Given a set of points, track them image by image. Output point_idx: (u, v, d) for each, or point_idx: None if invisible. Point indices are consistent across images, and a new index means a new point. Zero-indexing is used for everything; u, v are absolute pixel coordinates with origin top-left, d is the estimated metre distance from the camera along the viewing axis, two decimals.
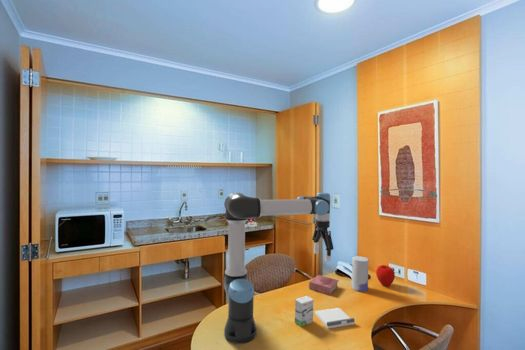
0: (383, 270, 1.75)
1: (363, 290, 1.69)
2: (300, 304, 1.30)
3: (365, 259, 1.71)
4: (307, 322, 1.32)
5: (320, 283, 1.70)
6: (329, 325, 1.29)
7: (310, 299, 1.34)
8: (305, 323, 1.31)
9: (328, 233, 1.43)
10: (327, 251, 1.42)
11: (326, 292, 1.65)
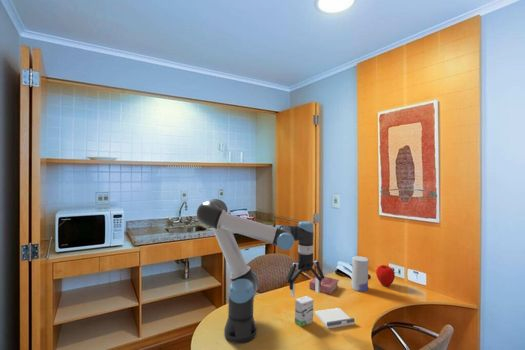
0: (383, 270, 1.75)
1: (363, 290, 1.69)
2: (300, 304, 1.30)
3: (365, 259, 1.71)
4: (307, 322, 1.32)
5: None
6: (329, 325, 1.29)
7: (310, 299, 1.34)
8: (305, 323, 1.31)
9: (292, 265, 1.32)
10: None
11: (326, 292, 1.65)
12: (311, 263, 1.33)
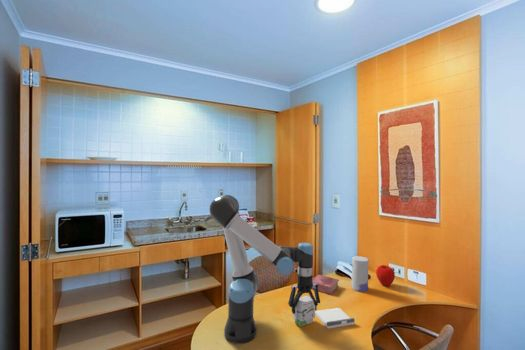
0: (383, 270, 1.75)
1: (363, 290, 1.69)
2: (300, 304, 1.30)
3: (365, 259, 1.71)
4: (307, 322, 1.32)
5: (321, 282, 1.71)
6: (329, 325, 1.29)
7: (310, 299, 1.34)
8: (305, 323, 1.31)
9: (292, 288, 1.32)
10: None
11: (327, 291, 1.65)
12: (310, 285, 1.33)
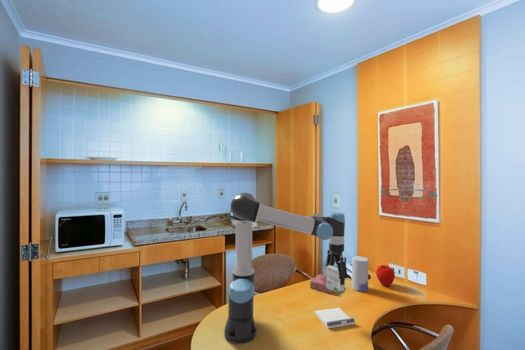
0: (383, 270, 1.75)
1: (363, 290, 1.69)
2: None
3: (365, 259, 1.71)
4: None
5: (321, 282, 1.71)
6: (329, 325, 1.29)
7: (333, 265, 1.39)
8: None
9: (343, 260, 1.29)
10: (340, 279, 1.31)
11: (327, 291, 1.66)
12: None
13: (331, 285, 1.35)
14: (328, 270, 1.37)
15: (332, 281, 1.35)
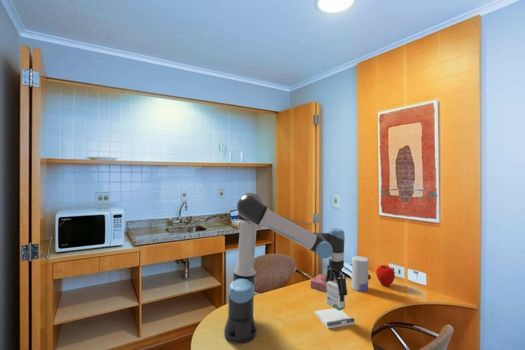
0: (383, 270, 1.75)
1: (363, 290, 1.69)
2: None
3: (365, 259, 1.71)
4: None
5: (321, 281, 1.72)
6: (329, 325, 1.29)
7: (333, 281, 1.39)
8: None
9: (343, 277, 1.30)
10: (340, 296, 1.31)
11: None
12: None
13: (331, 301, 1.36)
14: (328, 286, 1.38)
15: (332, 298, 1.35)
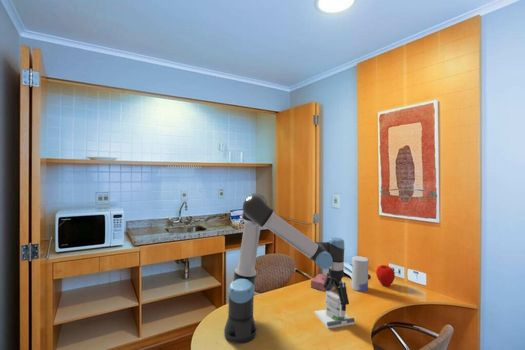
0: (383, 270, 1.75)
1: (363, 290, 1.69)
2: None
3: (365, 259, 1.71)
4: None
5: (322, 281, 1.72)
6: (329, 325, 1.29)
7: (333, 292, 1.40)
8: None
9: (343, 285, 1.30)
10: (342, 305, 1.29)
11: None
12: None
13: (331, 312, 1.36)
14: (327, 297, 1.38)
15: (332, 309, 1.35)
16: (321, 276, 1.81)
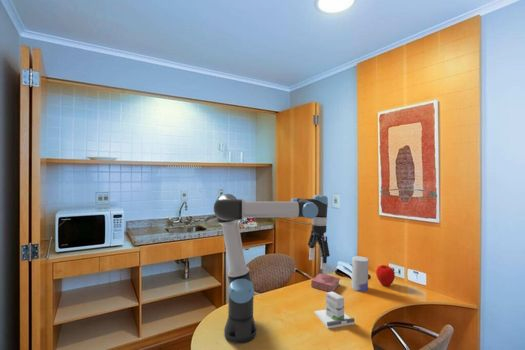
0: (383, 270, 1.75)
1: (363, 290, 1.69)
2: (343, 299, 1.34)
3: (365, 259, 1.71)
4: None
5: (322, 281, 1.73)
6: (329, 325, 1.29)
7: (333, 292, 1.40)
8: None
9: (324, 239, 1.33)
10: (323, 258, 1.33)
11: (328, 290, 1.68)
12: None
13: (330, 312, 1.36)
14: (327, 297, 1.38)
15: (332, 309, 1.35)
16: (321, 276, 1.81)
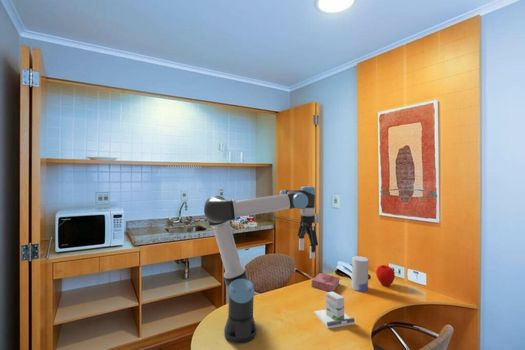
0: (383, 270, 1.75)
1: (363, 290, 1.69)
2: (343, 299, 1.34)
3: (365, 259, 1.71)
4: None
5: (322, 280, 1.73)
6: (329, 325, 1.29)
7: (333, 292, 1.40)
8: None
9: (312, 228, 1.36)
10: (311, 247, 1.36)
11: (328, 290, 1.68)
12: None
13: (330, 312, 1.36)
14: (327, 297, 1.38)
15: (332, 309, 1.35)
16: (322, 275, 1.82)
